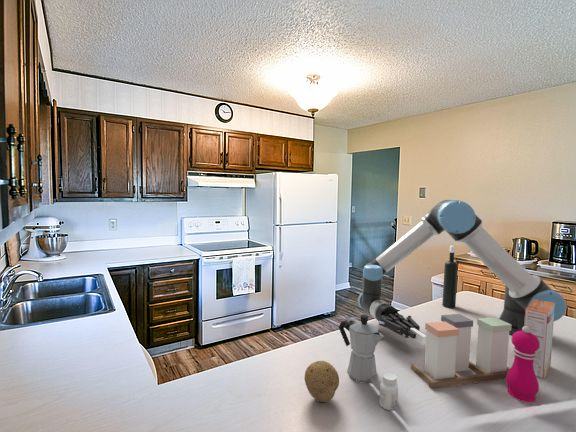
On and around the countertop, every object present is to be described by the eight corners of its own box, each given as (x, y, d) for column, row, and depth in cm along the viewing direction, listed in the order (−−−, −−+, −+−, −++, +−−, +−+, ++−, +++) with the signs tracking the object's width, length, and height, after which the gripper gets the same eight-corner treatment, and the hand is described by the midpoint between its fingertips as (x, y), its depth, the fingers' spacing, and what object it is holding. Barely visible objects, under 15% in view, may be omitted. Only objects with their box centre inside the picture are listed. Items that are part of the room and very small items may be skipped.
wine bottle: (453, 304, 162) (457, 244, 160) (456, 308, 156) (460, 246, 154) (441, 303, 163) (444, 244, 161) (443, 307, 158) (447, 245, 156)
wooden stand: (401, 369, 101) (401, 359, 101) (484, 359, 108) (485, 350, 108) (428, 394, 88) (429, 384, 88) (521, 382, 96) (522, 372, 95)
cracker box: (528, 359, 109) (533, 297, 108) (551, 366, 105) (556, 302, 104) (519, 374, 100) (524, 307, 98) (543, 383, 95) (549, 313, 94)
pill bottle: (397, 402, 85) (398, 373, 84) (397, 412, 81) (398, 382, 80) (379, 398, 86) (381, 370, 86) (378, 408, 82) (380, 379, 82)
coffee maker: (388, 377, 96) (391, 317, 95) (374, 390, 90) (377, 326, 89) (345, 359, 106) (347, 304, 105) (329, 369, 100) (331, 311, 99)
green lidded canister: (474, 368, 100) (477, 318, 99) (491, 365, 102) (495, 317, 101) (489, 378, 95) (492, 326, 94) (507, 375, 96) (511, 324, 95)
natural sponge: (317, 384, 92) (318, 350, 91) (345, 397, 86) (346, 361, 85) (297, 399, 85) (298, 362, 84) (326, 415, 79) (327, 375, 78)
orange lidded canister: (422, 374, 96) (425, 322, 95) (441, 371, 98) (445, 321, 96) (435, 385, 91) (438, 330, 89) (455, 382, 92) (459, 329, 91)
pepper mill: (526, 392, 91) (532, 321, 89) (544, 409, 84) (550, 333, 82) (499, 389, 91) (504, 320, 90) (514, 406, 84) (520, 331, 83)
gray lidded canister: (438, 363, 103) (441, 315, 101) (456, 361, 104) (459, 313, 103) (451, 373, 97) (454, 322, 96) (470, 370, 99) (473, 320, 98)
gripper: (398, 321, 125) (442, 350, 102) (367, 323, 122) (405, 354, 99) (399, 302, 125) (443, 327, 102) (368, 304, 121) (406, 330, 99)
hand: (424, 340), depth 101 cm, fingers closed
